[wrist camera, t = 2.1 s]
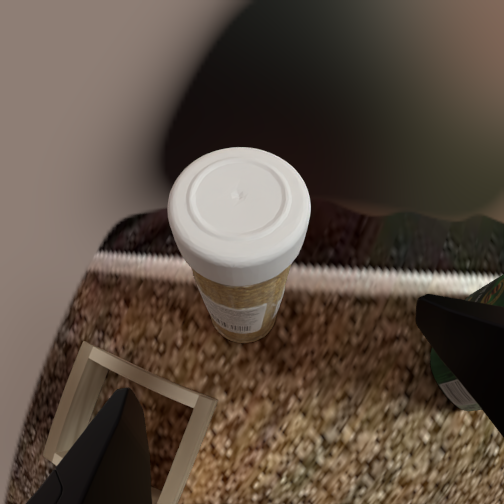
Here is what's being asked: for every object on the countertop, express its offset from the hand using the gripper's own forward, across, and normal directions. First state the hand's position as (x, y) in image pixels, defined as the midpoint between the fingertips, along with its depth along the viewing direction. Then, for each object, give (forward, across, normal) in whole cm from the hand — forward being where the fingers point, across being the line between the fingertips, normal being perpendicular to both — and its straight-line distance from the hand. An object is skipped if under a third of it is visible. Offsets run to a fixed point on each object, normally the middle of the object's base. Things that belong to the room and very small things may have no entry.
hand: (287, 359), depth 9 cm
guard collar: (+8, +9, +10) cm, 15 cm away
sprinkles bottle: (+12, 0, +5) cm, 14 cm away
